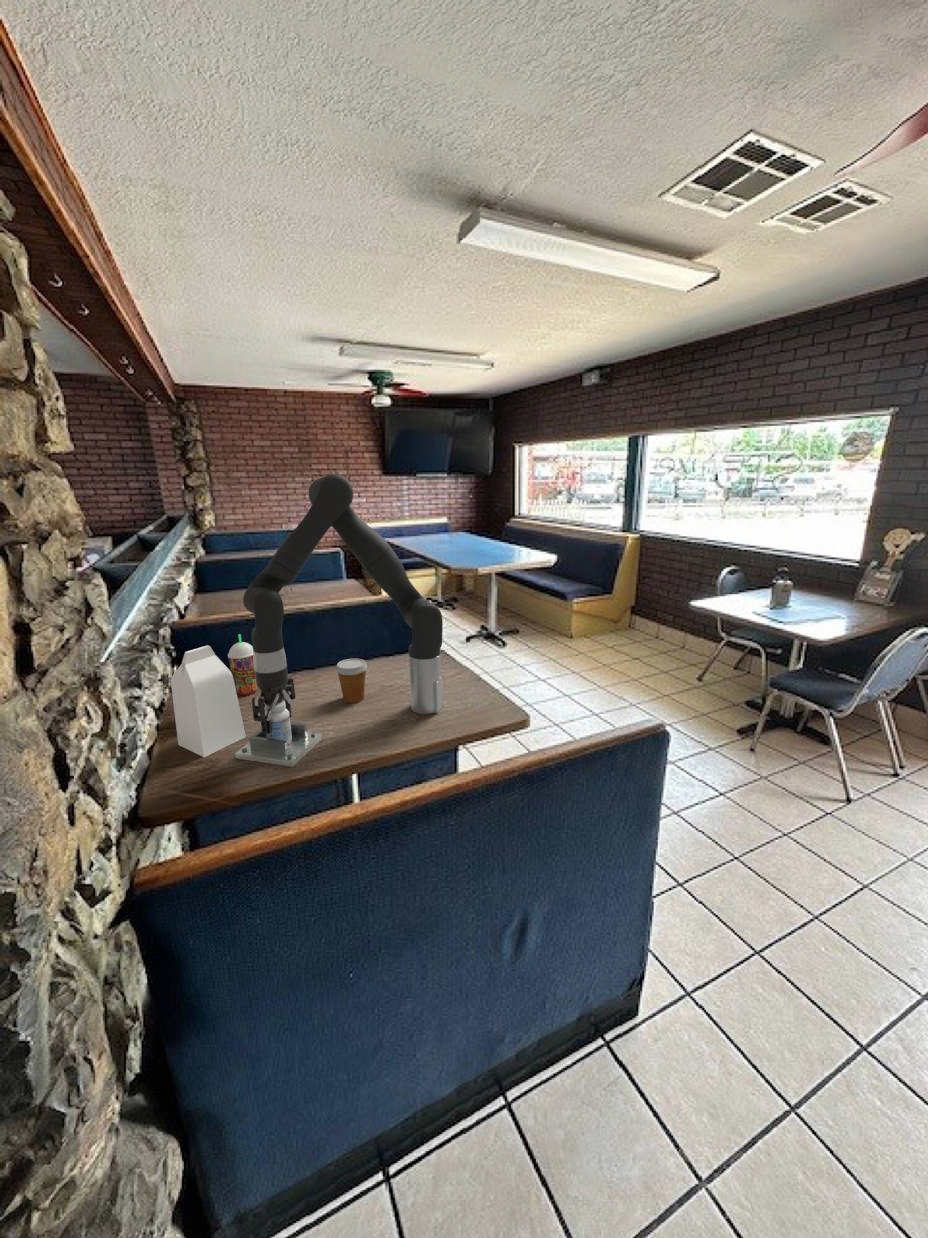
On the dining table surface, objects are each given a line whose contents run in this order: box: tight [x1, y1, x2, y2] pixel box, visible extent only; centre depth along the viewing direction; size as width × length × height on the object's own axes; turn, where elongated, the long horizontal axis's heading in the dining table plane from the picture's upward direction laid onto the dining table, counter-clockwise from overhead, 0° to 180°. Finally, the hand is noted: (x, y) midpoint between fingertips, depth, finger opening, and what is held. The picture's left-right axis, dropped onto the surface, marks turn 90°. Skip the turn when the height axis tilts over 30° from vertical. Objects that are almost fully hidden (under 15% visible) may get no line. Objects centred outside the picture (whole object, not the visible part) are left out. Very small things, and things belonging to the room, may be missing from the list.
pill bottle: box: [265, 700, 292, 745], centre depth 130 cm, size 6×6×11 cm
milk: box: [170, 645, 246, 758], centre depth 132 cm, size 12×12×26 cm
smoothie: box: [227, 633, 259, 696], centre depth 163 cm, size 8×8×20 cm
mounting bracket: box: [235, 721, 323, 768], centre depth 131 cm, size 16×14×5 cm
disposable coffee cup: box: [335, 658, 368, 704], centre depth 159 cm, size 10×10×12 cm
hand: (277, 725), depth 130 cm, fingers open, 8 cm apart
